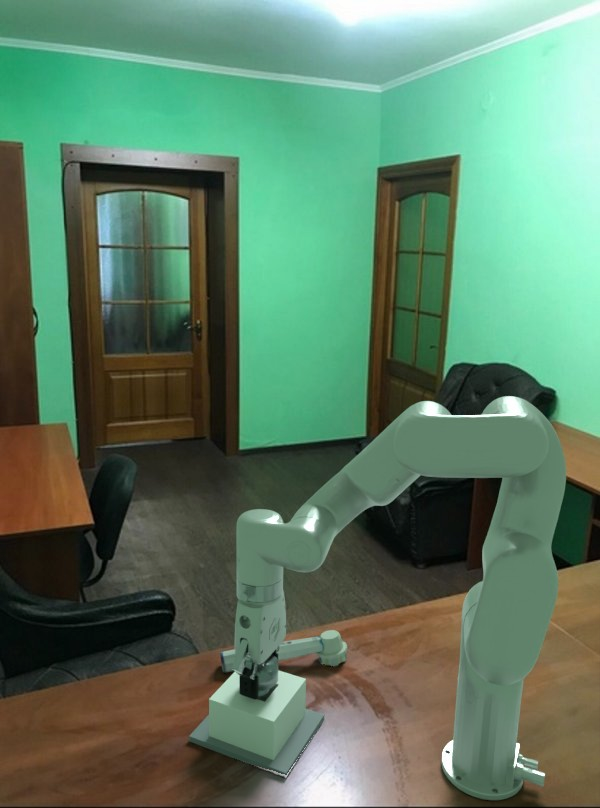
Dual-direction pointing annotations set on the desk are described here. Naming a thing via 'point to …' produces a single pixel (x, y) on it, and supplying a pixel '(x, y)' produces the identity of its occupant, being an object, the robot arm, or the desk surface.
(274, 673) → the steel pin
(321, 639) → the white flashlight
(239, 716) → the hitch block
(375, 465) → the robot arm
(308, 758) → the desk surface
